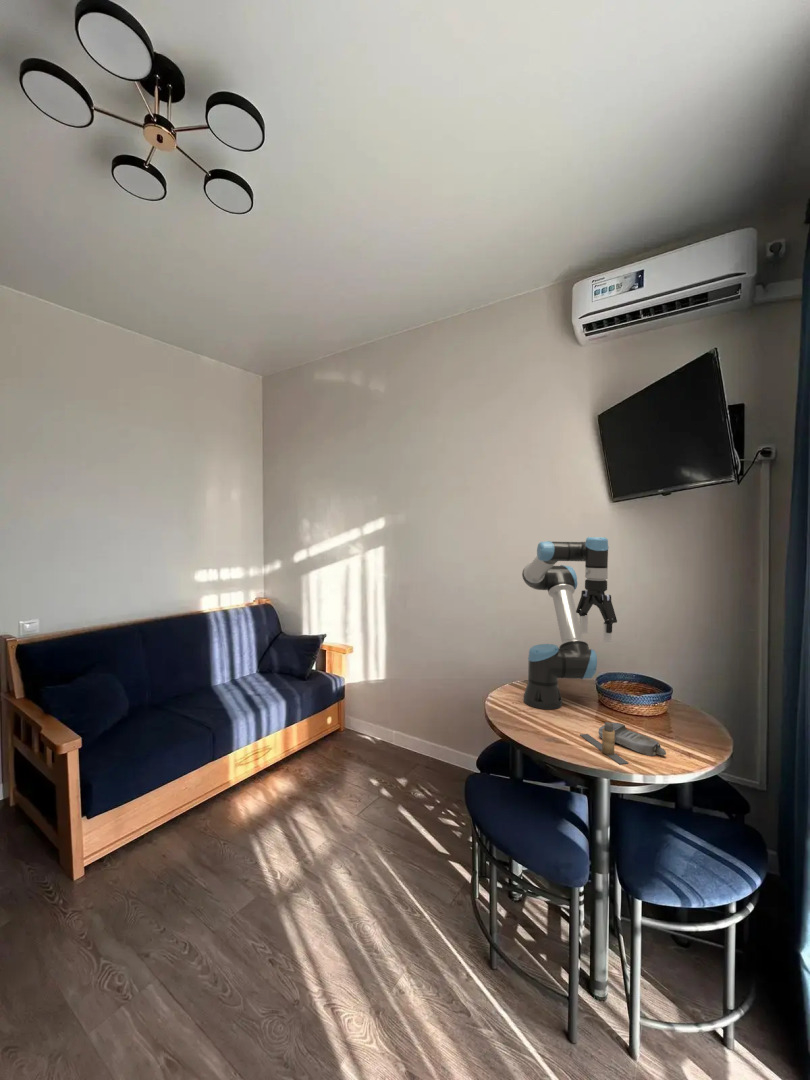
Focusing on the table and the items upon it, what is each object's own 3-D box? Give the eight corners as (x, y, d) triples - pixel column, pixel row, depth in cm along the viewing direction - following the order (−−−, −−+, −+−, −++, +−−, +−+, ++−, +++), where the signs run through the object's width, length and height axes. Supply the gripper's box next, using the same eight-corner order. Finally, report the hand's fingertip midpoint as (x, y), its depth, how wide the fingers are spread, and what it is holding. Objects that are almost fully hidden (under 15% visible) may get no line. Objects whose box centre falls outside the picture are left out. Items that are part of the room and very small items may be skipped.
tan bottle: (599, 750, 142) (600, 722, 142) (609, 749, 143) (609, 721, 143) (607, 755, 139) (607, 726, 139) (616, 754, 140) (617, 725, 139)
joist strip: (579, 735, 153) (579, 734, 153) (587, 734, 154) (587, 733, 154) (619, 764, 134) (619, 763, 134) (628, 763, 134) (628, 762, 134)
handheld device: (659, 763, 135) (659, 748, 135) (596, 740, 151) (596, 726, 151) (672, 754, 142) (672, 739, 141) (609, 732, 157) (609, 719, 157)
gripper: (567, 576, 174) (566, 630, 175) (609, 583, 150) (608, 646, 150) (584, 576, 176) (583, 629, 176) (629, 583, 151) (627, 645, 152)
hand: (594, 637), depth 163 cm, fingers open, 13 cm apart
